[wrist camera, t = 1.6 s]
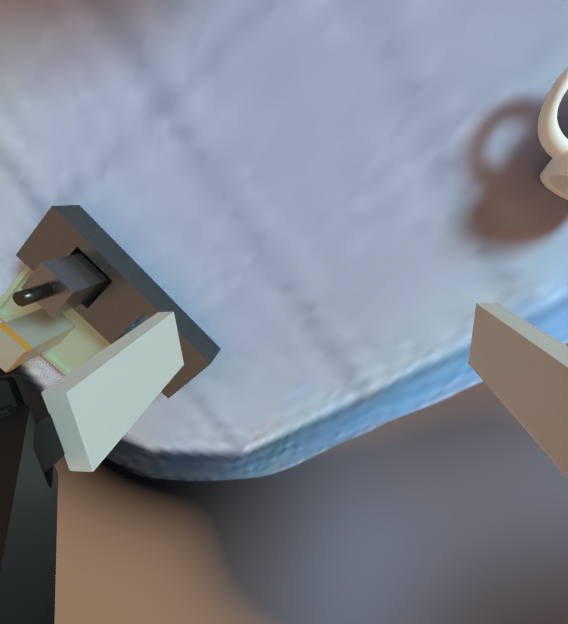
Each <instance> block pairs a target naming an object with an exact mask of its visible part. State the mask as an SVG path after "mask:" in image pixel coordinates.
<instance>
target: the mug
mask: <svg viewBox="0 0 568 624" xmlns="http://www.w3.org/2000/svg"><path fill="white" fill-rule="evenodd" d="M567 89H568V68H566V69H565V71H564V72H563V73H562V74H561V75H560V76H559V78H558V79H557V80H556V82H555V83H554V84H553V86H552V88H551V89H550V91H549V93H548V94H547V96H546V98H545V101H544V103H543V105H542V108H541V111H540V115H539V119H538V137H539V140H540V143H541V145H542V147H543V148H544V150H545V151H546V152H547V153H548V154H549V155H550V156H551V157H552V159H551V161H550V162H549V163H548V164H547V166H546V167H545V168H544V170H543V171H542V172H541V174H540V179H541V182H542V183H543V184H544V185H545V186H546V187H547V188H548V189H549V190H551V191H552V192H553V193H555V194H557V195H558V196H560V197H562V198H564V199H566V200H568V138H566V137H565V136H564V134H563V133H562V132H561V130H560V128H559V125H558V121H557V111H558V107H559V104H560V102H561V99H562V97H563V96H564V94H565V92H566V90H567Z"/></svg>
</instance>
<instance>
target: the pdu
mask: <svg viewBox="0 0 568 624" xmlns="http://www.w3.org/2000/svg"><path fill="white" fill-rule="evenodd" d="M16 256H17V257H19V258H20V259H21V260H22V261H23V262H24V263H25V264H26V265H27V266H28V267H29V268H30V269H31V270H32V271H33V273H32V274H31V276H30V277H29V278H28V279H27V281H26V282H25V283H24V285H23V286H22V287H21V289H22V290H21V291H18V292H15V293H14V294H13V300H14V302H15V303H16V304H17V305H18V306H22V307H23V306H26V305H29V304H32V303H35V302H37V303H38V304H39V305H40V306H41V307H42V308H43V309H44V310H45V311H46V312H47V313H48V314H50V315H51V316H52V317H53V316H56V315H58V314H60V313H62V312H65V311H67V310H69V309H72V308H73V309H74V310H75V311H76V312H77V313H78V314H79V315H80V316H81V317H82V318H83V319H84V320H86V321H87V322H88V323H89V324H90V325H91V326H92V327H93V328H94V329H95V330H96V331H97V332H98V333H99V334H100V335H101V336H103V337H104V338H105V339H106V340H107V341H108V342H109V343H110V344H113V343H114V342H116V341H117V340H118V339H120V338H121V337H123V336H124V335H126V334H127V333H129V332H130V331H132V330H133V329H134V328H136V327H137V326H139V325H140V324H142V323H143V322H145V321H146V320H148V319H149V318H150V317H152V316H153V315H155V314H156V313H158V312H174V315H175V320H176V325H177V331H178V336H179V341H180V346H181V351H182V356H183V362H184V365H183V366H182V367H181V368H180V370H179V371H178V372H177V373H176V374H175V376H174V377H173V378H172V379H171V380H170V381H169V383H168V384H167V385H166V386H165V387H164V389H163V390H162V391H161V392H162V393H163V394H164V395H165V396H166V397H167V398H170V397H171V396H172V395H173V394H174V393H176V392H177V391H178V390H179V389H180V388H182V387H183V386H184V385H185V384H186V383H188V382H189V381H190V380H191V379H193V378H194V377H195V376H196V375H197V374H199V373H200V372H201V371H202V370H203V369H205V368H206V367H207V366H208V365H209V364H211V362H212V361H213V359H214V358H215V356H216V355H217V354H218V352H219V351H220V348H219V347H218V346H217V345H216V344H215V343H214V342H213V341H212V340H211V339H210V338H209V337H208V336H207V335H206V334H205V333H204V332H203V331H202V330H201V329H200V327H199V326H198V325H197V324H196V323H195V322H194V321H193V320H192V319H191V318H190V317H189V316H188V315H187V314H186V313H185V312H184V311H183V310H182V309H181V308H180V307H179V306H178V305H177V304H176V303H175V302H174V301H173V300H172V299H171V298H170V297H169V296H168V295H167V294H166V293H165V292H164V291H163V290H162V289H161V288H160V287H159V286H158V285H157V284H156V283H155V282H154V281H153V280H152V279H151V278H150V277H149V276H148V275H147V274H146V273H145V272H144V271H143V270H142V269H141V268H140V267H139V266H138V265H137V264H136V262H135V261H134V260H133V259H132V258H131V257H130V256H129V255H128V254H127V253H126V252H125V251H124V250H123V249H122V248H121V247H120V246H119V245H118V244H117V243H116V242H115V241H114V240H113V239H112V238H111V237H110V236H109V235H108V234H107V233H106V232H105V231H104V230H103V229H102V228H101V227H100V226H99V225H98V224H97V223H96V222H95V221H94V220H93V219H92V218H91V217H90V216H89V215H88V214H87V213H86V212H85V211H84V210H83V209H82V208H81V207H80V206H79V205H68V206H52V207H51V208H50V210H49V211H48V212H47V214H46V215H45V216H44V218H43V219H42V220H41V222H40V223H39V224H38V226H37V227H36V229H35V230H34V231H33V233H32V234H31V235H30V237H29V238H28V239H27V241H26V242H25V243H24V245H23V246H22V248H21V249H20V250H19V252H18V253H17V254H16Z"/></svg>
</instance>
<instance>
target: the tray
mask: <svg viewBox="0 0 568 624" xmlns="http://www.w3.org/2000/svg"><path fill="white" fill-rule="evenodd" d="M32 273H33V271H32V270H31V269H30V268H29V267H28V266H27V265H26V266H25V267H24V269H23V270H22V271H21V272H20V274H19V275H18V276H17V278H16V279H15V280H14V282H13V283H12V284H11V286H10V287H9V288H8V290H7V291H6V292H5V293H4V295H3V296H2V297H1V299H0V318H1V319H2V320H3V321H4V322H8V321H10V320H13V319H16V318H18V317H21V316H23V315H26V314H29V313H31V312H34V311H36V310H39V309H41V308H42V307H41V306H40V305H39V304H38V303H37V302H35V303H32V304H29V305H26V306H23V307H22V306H18V305H17V304H16V303H15V302H14V300H13V294H14V293H15V292H18V291H21V290H22V289H21V287H22V286H23V285H24V283H25V282H26V281H27V279H28V278H29V277H30V276H31V274H32ZM62 314H63V315H64V316H65V317H66V318H67V319H69V320H70V321H71V322H72V323H73V324H74V325H75V328H74V329H73V330H72V331H71V332H70V333H69V334H68V335H67V336H66V337H65V338H64V340H63V341H62V342H61V343H60V344H58V345H56V346H54V347H52V348H50V349H49V350H47V351H45V352H43V353H41V355H42V356H44V357H45V358H46V359H47V360H48V361H49V362H50V363H51V364H53V365H54V366H55V367H56V368H57V369H58V370H59V371H60V372H62V373H63V374H64V375H65V376H66V375H67V374H69V373H70V372H72V371H73V370H75V369H76V368H78V367H79V366H81V365H82V364H83V363H85V362H86V361H88V360H89V359H91V358H92V357H94V356H95V355H97V354H98V353H99V352H101V351H102V350H104V349H105V348H107V347H108V346H110V345H111V344H110V343H109V342H108V341H107V340H106V339H105V338H104V337H103V336H101V335H100V334H99V333H98V332H97V331H96V330H95V329H94V328H93V327H92V326H91V325H90V324H89V323H88V322H87V321H86V320H84V319H83V318H82V317H81V316H80V315H79V314H78V313H77V312H76V311H75V310H74V309H73V308H72V309H69V310H67V311H65V312H62Z"/></svg>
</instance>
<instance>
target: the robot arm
mask: <svg viewBox="0 0 568 624" xmlns="http://www.w3.org/2000/svg"><path fill="white" fill-rule="evenodd" d="M183 365H184V362H183V356H182V351H181V346H180V341H179V336H178V331H177V325H176V320H175V315H174V312H158V313H156V314H155V315H153V316H152V317H150V318H149V319H148V320H146V321H145V322H143V323H142V324H140V325H139V326H137V327H136V328H134V329H133V330H132V331H130V332H129V333H127V334H126V335H124V336H123V337H121V338H120V339H118V340H117V341H116V342H114V343H113V344H111V345H110V346H108V347H107V348H105V349H104V350H102V351H101V352H99V353H98V354H97V355H95V356H94V357H92V358H91V359H89V360H88V361H86V362H85V363H83V364H82V365H81V366H79V367H78V368H76V369H75V370H73V371H72V372H70V373H69V374H67V375H66V376H65V377H63V378H62V379H60V380H59V381H57V382H56V383H54V384H53V385H51V386H50V387H48V388H47V389H46V390H44V391H43V392H41V393H40V394H39V395H37V396H36V397H34V398H33V399H31V400H30V401H29V398H28V396H27V393H26V390H25V388H24V385H23V383H22V380H21V378H20V376H18V375H4V376H0V624H54V615H55V575H56V535H57V534H56V533H57V493H58V473H57V471H56V468H55V465H54V464H55V463H56V462H57V461H58V460H59V459H60V458H61V457H62V456H63V455H64V456H65V458H66V461H67V464H68V467H69V469H70V471H85V472H87V471H88V472H93V471H94V470H95V469H96V468H97V466H98V465H99V464H100V463H101V462H102V461H103V459H104V458H105V457H106V456H107V455H108V453H109V452H110V451H111V450H112V449H113V448H114V446H115V445H116V444H117V443H118V442H119V440H120V439H121V438H122V437H123V436H124V435H125V433H126V432H127V431H128V430H129V429H130V428H131V426H132V425H133V424H134V423H135V422H136V420H137V419H138V418H139V417H140V416H141V415H142V413H143V412H144V411H145V410H146V409H147V407H148V406H149V405H150V404H151V403H152V402H153V400H154V399H155V398H156V397H157V396H158V394H159V393H160V392H161V391H162V390H163V389H164V387H165V386H166V385H167V384H168V383H169V381H170V380H171V379H172V378H173V377H174V376H175V374H176V373H177V372H178V371H179V370H180V368H181V367H182V366H183ZM469 365H470V366H471V367H472V368H473V369H474V370H475V372H476V373H477V374H478V375H479V376H480V377H481V378H482V380H483V381H484V382H485V383H486V384H487V385H488V387H489V388H490V389H491V390H492V391H493V392H494V393H495V395H496V396H497V397H498V398H499V399H500V401H501V402H502V403H503V404H504V405H505V406H506V407H507V409H508V410H509V411H510V412H511V413H512V414H513V415H514V417H515V418H516V419H517V420H518V421H519V423H520V424H521V425H522V426H523V427H524V428H525V429H526V431H527V432H528V433H529V434H530V435H531V436H532V438H533V439H534V440H535V441H536V442H537V443H538V445H539V446H540V447H541V448H542V449H543V450H544V452H545V453H546V454H547V455H548V456H549V457H550V458H551V460H552V461H553V462H554V463H555V464H556V465H557V467H558V468H559V469H560V470H561V471H562V472H563V474H564V475H565V476H566V477H567V478H568V347H567V346H566V345H564V344H563V343H561V342H560V341H558V340H556V339H555V338H553V337H551V336H550V335H548V334H547V333H545V332H543V331H542V330H540V329H538V328H537V327H535V326H534V325H532V324H530V323H529V322H527V321H525V320H524V319H522V318H521V317H519V316H517V315H516V314H514V313H512V312H511V311H509V310H508V309H506V308H504V307H503V306H501V305H499V304H498V303H476V310H475V318H474V325H473V333H472V340H471V348H470V355H469Z"/></svg>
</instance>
